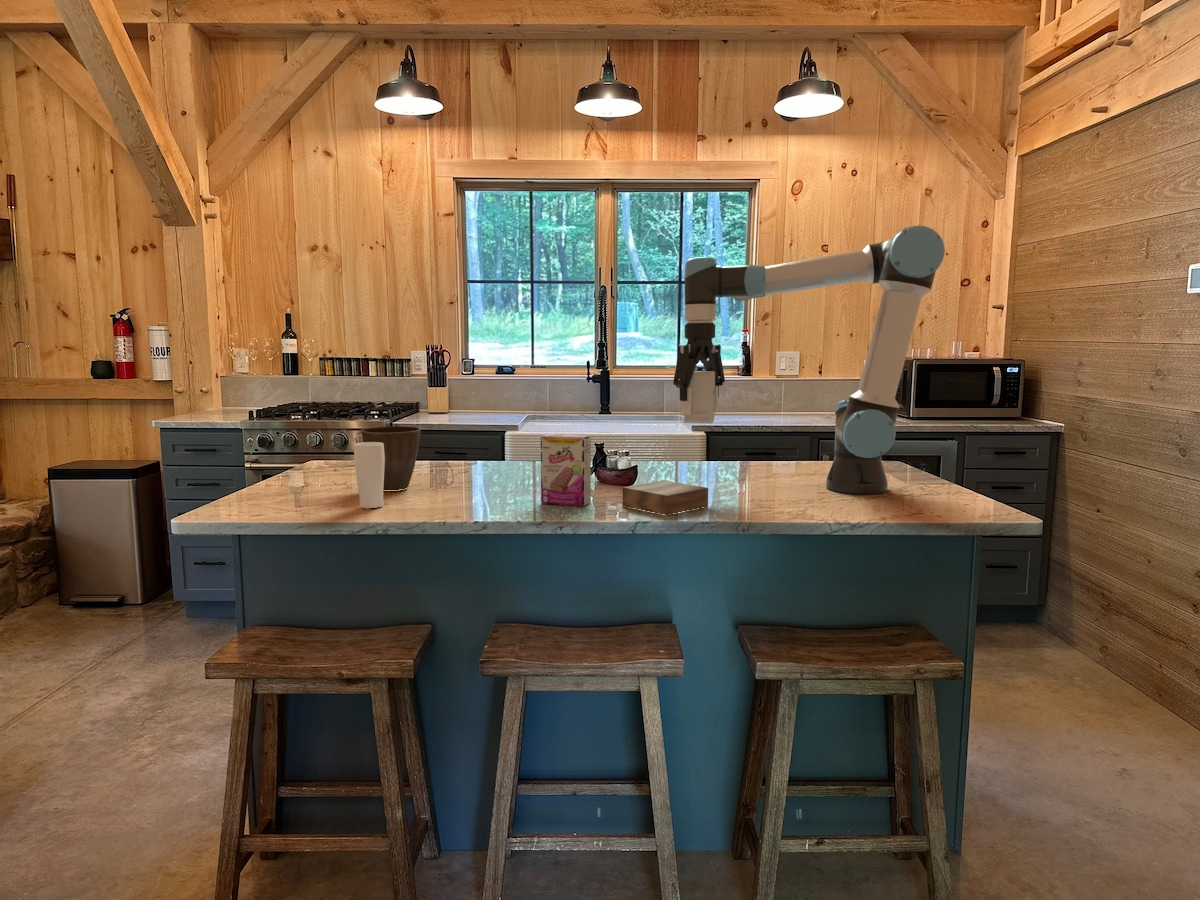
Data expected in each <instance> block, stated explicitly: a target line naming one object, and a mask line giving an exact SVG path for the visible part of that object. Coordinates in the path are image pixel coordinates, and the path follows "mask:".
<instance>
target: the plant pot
mask: <svg viewBox="0 0 1200 900" xmlns="http://www.w3.org/2000/svg"><path fill="white" fill-rule="evenodd" d="M360 431H361V432H360V433H361V438H362V443H364V442H381V443H384V453H385V467H384V489H383V490H399V489H405V488H407V487H408V488H409V485H410V483H411V479H412V476H413V473H414V470H415V467H416V461H417V457H418V452H419V445H420V436H421V428H420V427H418V426H417V427H416V426H400V425H399V426H398V425H397V426H393V425H392V426H377V427H366V428H362V429H361V430H360ZM408 488H407V489H408Z"/></svg>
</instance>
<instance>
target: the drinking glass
mask: <svg viewBox="0 0 1200 900" xmlns="http://www.w3.org/2000/svg"><path fill="white" fill-rule="evenodd" d="M353 457H354V469H355V476H356V483H357V489H358V501H359V507H360V508H361V509H363V508H365V509H364V510H372V509H371V508H377V507H380V508H382V507H383V506H384V492H383V489H384V467H385V453H384V443H381V442H364V443H363V442H356V443H355V444H353ZM381 506H382V507H381ZM369 508H370V509H369ZM377 509H378V508H377Z"/></svg>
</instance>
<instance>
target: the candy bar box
mask: <svg viewBox="0 0 1200 900" xmlns="http://www.w3.org/2000/svg"><path fill="white" fill-rule="evenodd" d="M591 439H592V438H591V436H590V435H580V434H579V435H578V434H577V435H575V434H559V433H558V434H556V433H546V434H543V435H541V436H540V501H541V502H540V503H541V505H542V504H545V505H555V506H568V507H569V506H570V507H581V508H582V507H584V508H585V507H586V506H588V505H589V503H590V504H591V503H592V502H591V499H592V496H591V495H592V494H591V492H592V491H591V486H592V485H591V480H592V479H591V477H592V475H591V474H592V473H591V466H592V465H591V462H592V461H591V456H592V455H591V453H592V451H591V447H592V443H591ZM587 504H588V505H587ZM585 505H586V506H585Z"/></svg>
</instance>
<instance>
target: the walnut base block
mask: <svg viewBox="0 0 1200 900" xmlns="http://www.w3.org/2000/svg"><path fill="white" fill-rule="evenodd" d="M623 506H626V507H631V508H636V509H641V510H645V511H650V512H655V513H660V514H665V515H669V514H673V513H678V512H682V511H687V510H692V509H697V508H702V507H708V508H709V487H706V486H699V485H693V484H689V483H683V482H675V481H672V480H666V479H665V480H657V481H652V482H645V483H641V484H634V485H629V486H623V487H622V507H623ZM626 507H625V508H626Z"/></svg>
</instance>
